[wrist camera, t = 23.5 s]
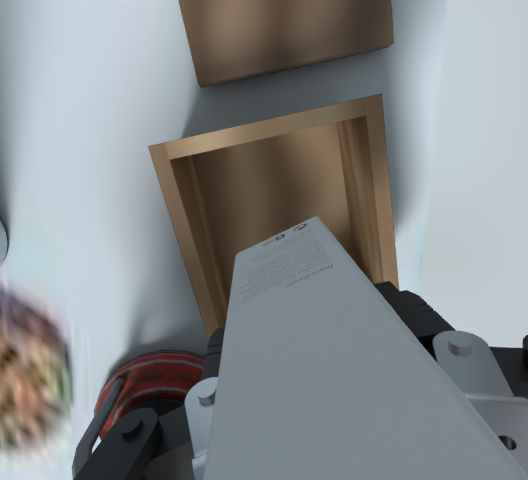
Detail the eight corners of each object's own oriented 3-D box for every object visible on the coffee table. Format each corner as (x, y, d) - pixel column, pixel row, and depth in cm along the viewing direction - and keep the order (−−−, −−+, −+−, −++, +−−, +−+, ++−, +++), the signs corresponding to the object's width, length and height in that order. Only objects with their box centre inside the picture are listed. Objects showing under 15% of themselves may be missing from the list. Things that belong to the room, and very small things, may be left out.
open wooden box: (225, 309, 31) (216, 364, 23) (178, 144, 26) (147, 146, 18) (365, 280, 30) (402, 327, 23) (343, 107, 26) (381, 93, 18)
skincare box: (232, 253, 14) (149, 683, 3) (316, 212, 14) (604, 531, 3) (288, 352, 16) (371, 865, 5) (364, 318, 16) (665, 795, 4)
